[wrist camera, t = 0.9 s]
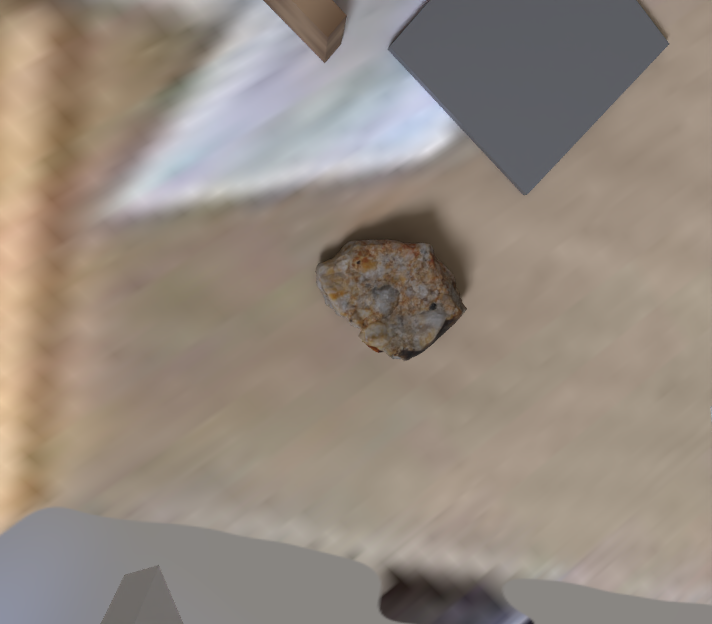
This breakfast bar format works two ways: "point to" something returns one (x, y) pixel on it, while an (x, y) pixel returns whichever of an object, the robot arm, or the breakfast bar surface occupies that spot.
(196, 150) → the breakfast bar surface
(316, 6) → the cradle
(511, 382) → the breakfast bar surface
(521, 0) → the coaster
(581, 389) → the breakfast bar surface
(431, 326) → the rock
